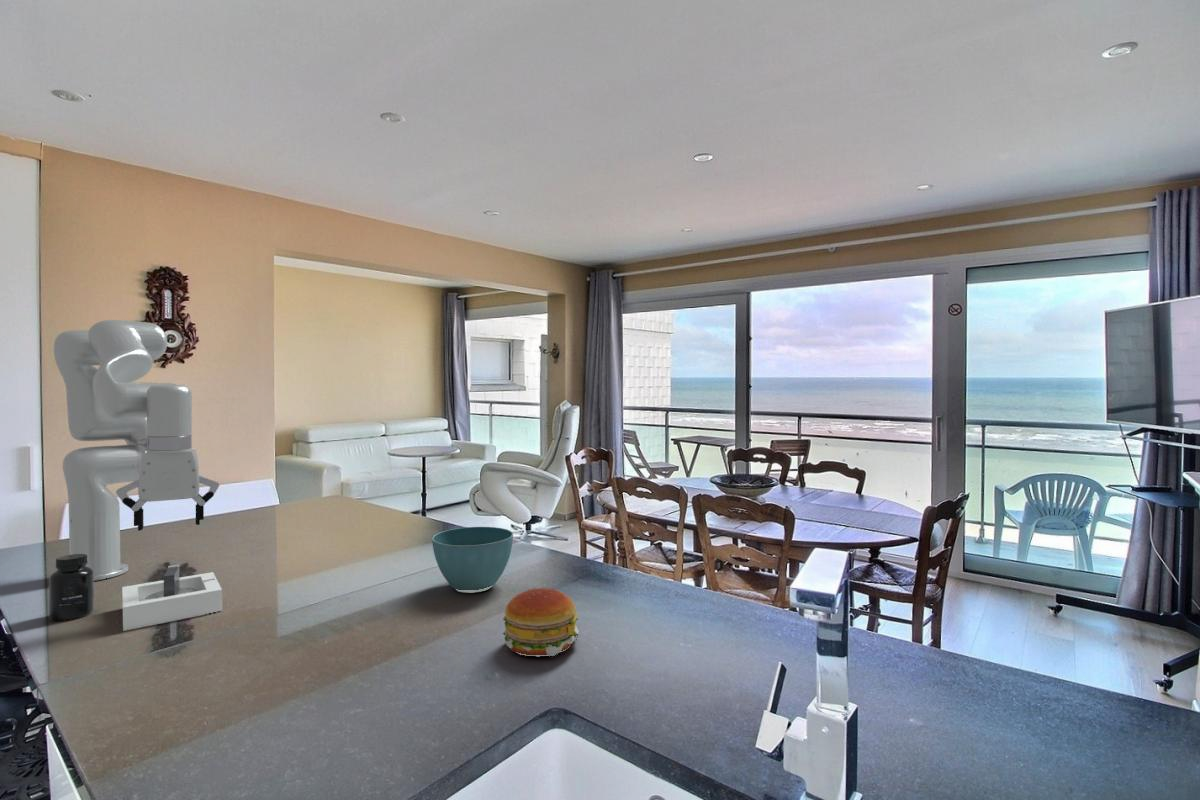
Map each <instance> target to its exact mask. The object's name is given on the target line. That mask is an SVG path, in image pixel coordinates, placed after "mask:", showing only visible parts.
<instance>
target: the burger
mask: <svg viewBox="0 0 1200 800" xmlns="http://www.w3.org/2000/svg"><path fill="white" fill-rule="evenodd" d="M578 617H579V614H577V613H576V606H575V603H574V602H573V600H572V599H571V598H570V597H569V596H568V595H567V594H565V593H564V592H562V591H560V590H557V589H556V590H555V589H553V588H552V589H551V588H547V587H546V588H545V587H540V588H538V587H537V588H532V589H528V590H525V591H522V592H520V593H518V594H517V595H515V596H514V597H512V598H511V599H510V601H509V602H508V604H507V605H506V606H505V611H504V617H503V618H502V620H503V621H504V629H505V630H504V632H502V634H503V635H504V641H505V645H506V646H507V647H508V648H509V650H510V649H512V650H513V651H515V652H518V653H521V654H526V655H549V657H550V656H554V655H556V654H557V655H559V654H558V652H560V651H563V650H565V649H567V648H568V647H569V646H570V647H571V646H572V645H571V644H573V643H574V642H575V641H578V638H579V632H580V631H579V629H578V625H576V624H577V621H578V620H579V619H578ZM576 635H577V636H576ZM513 651H512V652H513ZM557 655H556V656H557Z"/></svg>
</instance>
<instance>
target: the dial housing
mask: <svg viewBox="0 0 1200 800" xmlns="http://www.w3.org/2000/svg"><path fill="white" fill-rule="evenodd" d="M179 579H180V588H195V589H197V590H198V591H196V592H190V593H185V594H179V595H173V596H168V597H162V598H156V599H151V600H145V598H146V597H147V596H149V595H151V594H154V593H157V592H160V591H164V579H163V580H158V581H157V580H156V581H151V582H145V583H139V584H131V585H126V586H122V588H121V589H122V591H121V593H122V595H121V596H122V631H123V632H126V631H130V630H136V629H140V628H146V627H150V626H155V625H159V624H160V625H162V624H166V623H170V622H175V621H179V620H184V619H190V618H196V617H200V616H205V614H206V615H210V614H209V613H211V614H214V613H213V612H216V613H218V612H217V611H221V610H222V611H223V588H222V587H221V584H220V583H219V581H218V579H217V577H216V575H215V573H214V572H213V571H212V572H206V573H199V574H193V575H187V576H181V577H180V576H179ZM222 611H221V612H222Z"/></svg>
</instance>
